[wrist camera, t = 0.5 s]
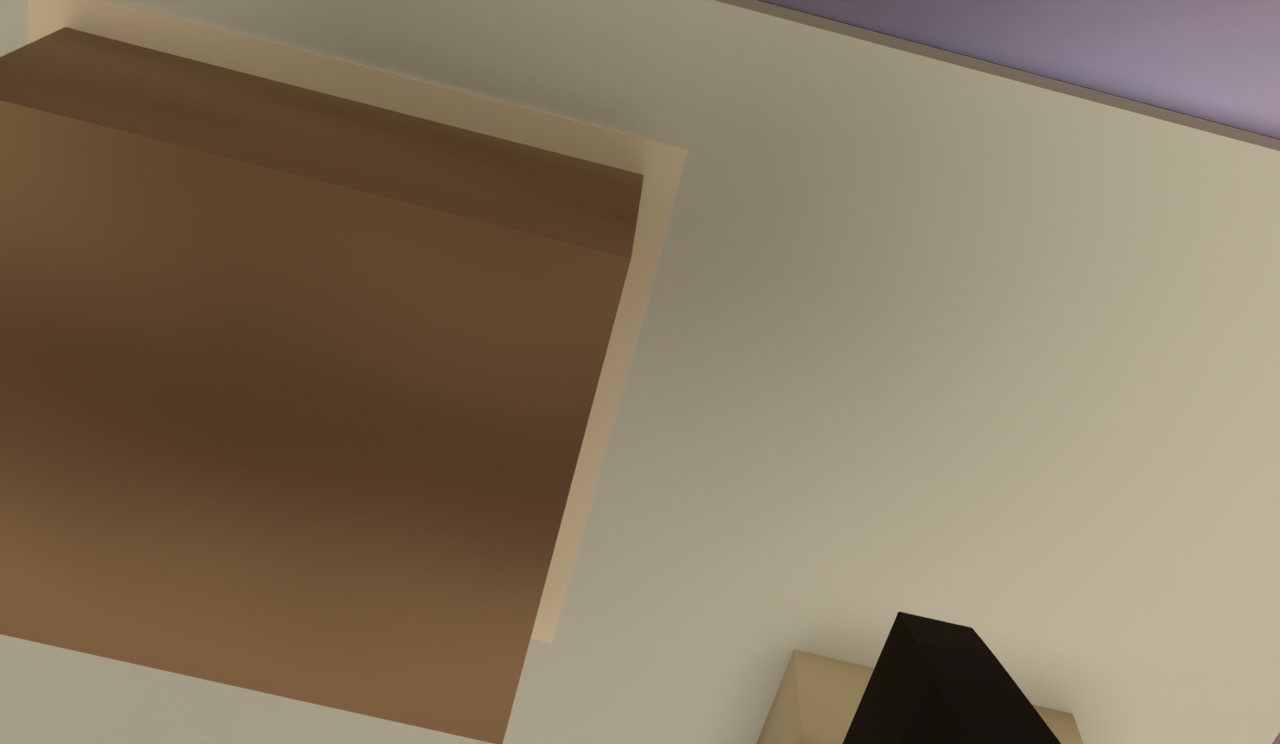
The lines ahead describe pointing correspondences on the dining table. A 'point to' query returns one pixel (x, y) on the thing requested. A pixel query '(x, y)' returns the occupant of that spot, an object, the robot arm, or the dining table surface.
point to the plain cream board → (825, 372)
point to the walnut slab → (289, 379)
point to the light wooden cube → (844, 703)
